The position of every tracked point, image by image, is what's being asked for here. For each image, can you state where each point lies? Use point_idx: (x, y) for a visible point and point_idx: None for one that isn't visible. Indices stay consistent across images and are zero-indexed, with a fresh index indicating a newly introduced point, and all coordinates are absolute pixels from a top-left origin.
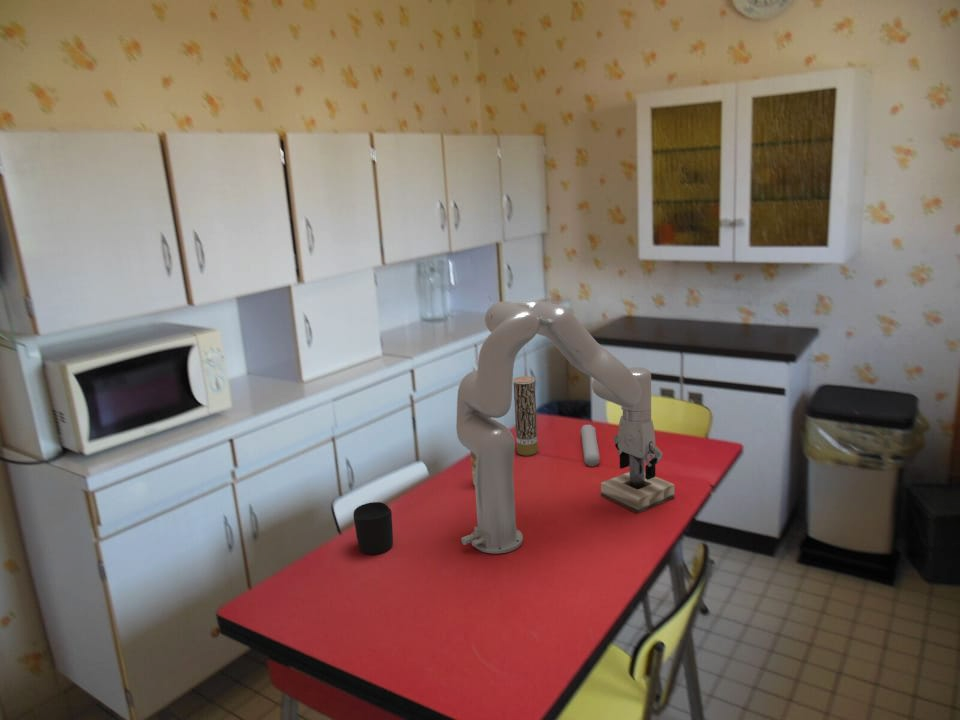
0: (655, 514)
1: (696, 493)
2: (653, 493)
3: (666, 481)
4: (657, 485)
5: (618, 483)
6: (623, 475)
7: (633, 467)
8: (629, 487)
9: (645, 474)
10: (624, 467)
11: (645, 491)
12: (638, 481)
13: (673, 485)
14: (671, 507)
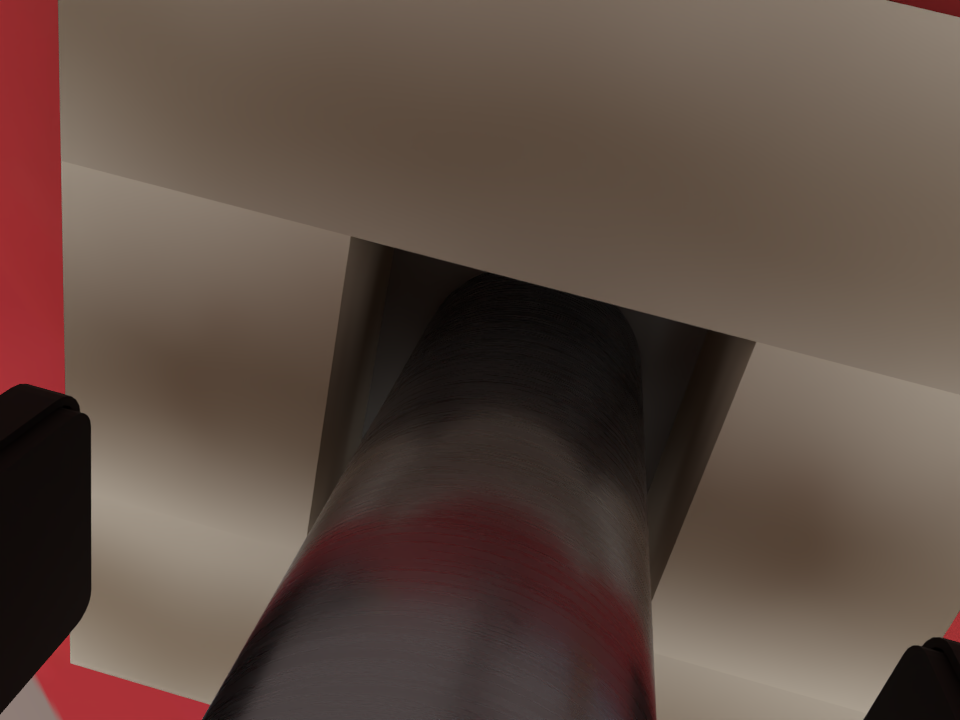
0: (27, 8)
1: (93, 703)
2: (70, 270)
3: (202, 696)
4: (210, 543)
5: (833, 285)
6: (895, 624)
7: (396, 605)
8: (533, 239)
9: (5, 461)
10: (876, 710)
11: (201, 253)
12: (387, 412)
13: (77, 642)
14: (38, 315)
